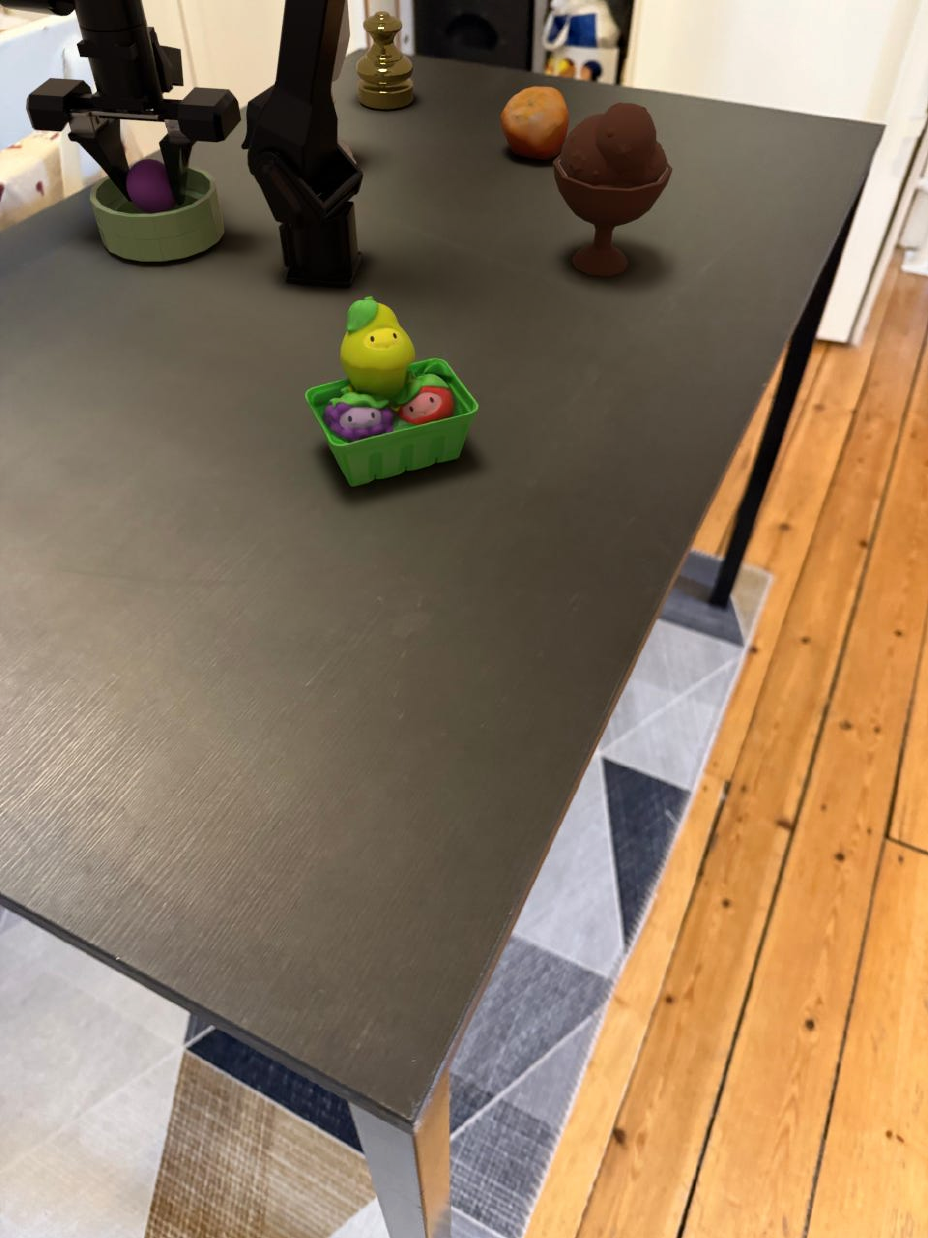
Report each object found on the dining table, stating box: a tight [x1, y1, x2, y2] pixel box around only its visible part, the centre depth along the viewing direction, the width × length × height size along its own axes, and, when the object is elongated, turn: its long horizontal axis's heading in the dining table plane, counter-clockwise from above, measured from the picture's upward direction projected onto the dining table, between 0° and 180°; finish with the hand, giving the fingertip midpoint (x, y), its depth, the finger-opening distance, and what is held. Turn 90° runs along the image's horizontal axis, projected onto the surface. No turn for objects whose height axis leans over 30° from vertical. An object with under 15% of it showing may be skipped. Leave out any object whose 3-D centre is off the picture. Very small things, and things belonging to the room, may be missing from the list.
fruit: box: [499, 85, 570, 161], centre depth 106 cm, size 8×8×8 cm
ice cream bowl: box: [552, 102, 674, 277], centre depth 84 cm, size 11×11×15 cm
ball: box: [126, 158, 176, 214], centre depth 88 cm, size 5×5×5 cm
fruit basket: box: [304, 295, 479, 487], centre depth 65 cm, size 11×9×11 cm
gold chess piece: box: [355, 10, 414, 111], centre depth 115 cm, size 7×7×10 cm
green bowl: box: [89, 165, 225, 262], centre depth 90 cm, size 12×12×5 cm
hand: (157, 201), depth 90 cm, fingers closed on ball, 5 cm apart
